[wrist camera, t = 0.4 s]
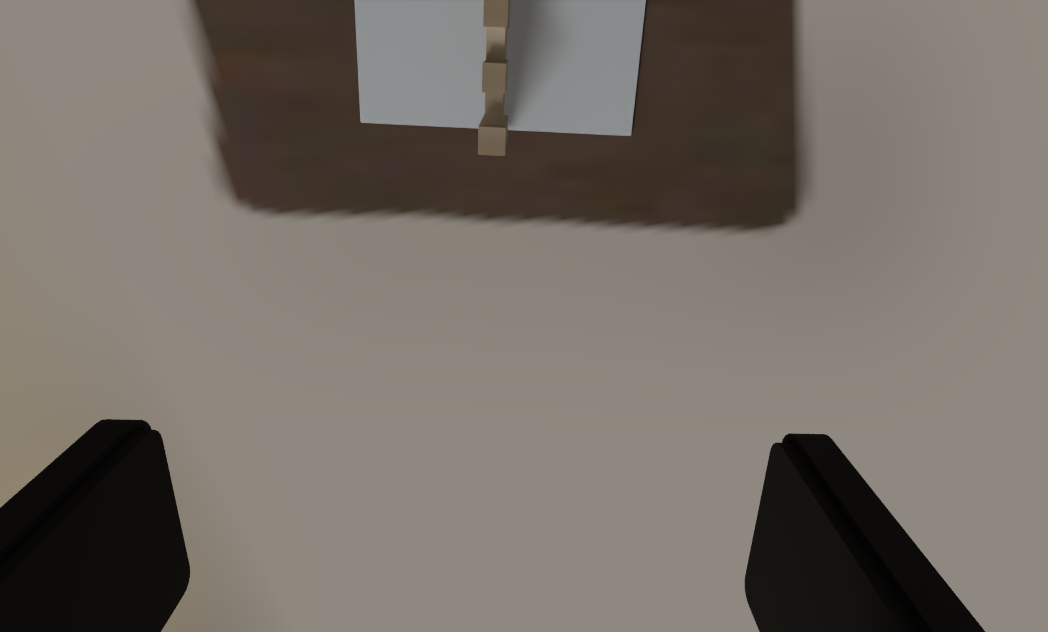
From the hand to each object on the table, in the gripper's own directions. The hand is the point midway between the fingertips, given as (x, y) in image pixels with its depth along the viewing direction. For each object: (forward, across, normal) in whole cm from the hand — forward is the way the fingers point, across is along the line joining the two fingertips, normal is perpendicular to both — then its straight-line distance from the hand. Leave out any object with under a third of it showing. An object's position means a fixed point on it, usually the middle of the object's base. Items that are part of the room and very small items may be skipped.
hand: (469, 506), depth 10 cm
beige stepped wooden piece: (+26, 0, -7) cm, 27 cm away
